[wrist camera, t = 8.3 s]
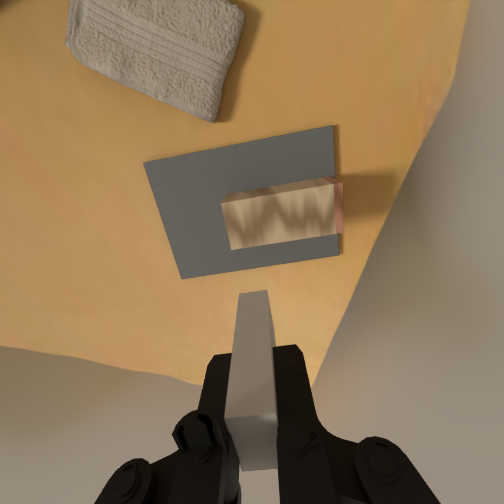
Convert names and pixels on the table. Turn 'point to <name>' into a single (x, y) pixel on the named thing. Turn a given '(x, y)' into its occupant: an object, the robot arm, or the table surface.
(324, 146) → the rubber mat
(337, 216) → the maple block
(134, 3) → the washcloth
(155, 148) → the table surface
